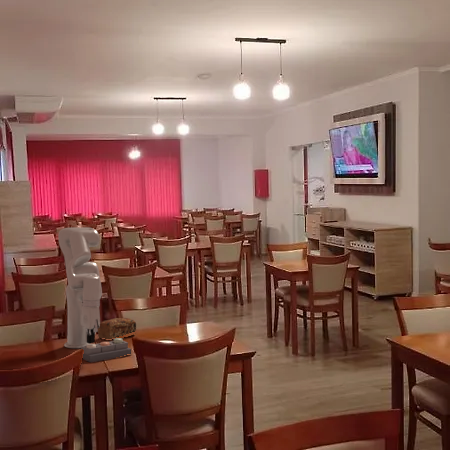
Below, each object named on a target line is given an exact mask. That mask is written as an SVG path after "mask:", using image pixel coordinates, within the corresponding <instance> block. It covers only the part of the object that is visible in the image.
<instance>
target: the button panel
mask: <svg viewBox="0 0 450 450" xmlns="http://www.w3.org/2000/svg"><path fill="white" fill-rule="evenodd" d="M108 342H109V343H110V345H107V346H101V345H100V343H101V342H100V343H95V344H96V347H95V348H87V345H86V346H81V348H80V350H81V349H83V350H84V354H83V359H82V360H84V361H86V362H88V363H96V362H102V361H107V360H111V359H117V358H116V357H119V358H121V357H120V356H124V355H127V354H131V355H132V348H130V347H129V342H127V341H125V340H123V343H119V344H115V343H114V340H112V341H108ZM124 357H125V356H124Z"/></svg>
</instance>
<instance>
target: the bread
mask: <svg viewBox="0 0 450 450" xmlns="http://www.w3.org/2000/svg"><path fill="white" fill-rule="evenodd" d="M135 331H137V323H136V321H135V320H134V319H131V318H128V317H115V318H110V319H108V320H103V321H100V327H99V328H98V332H97V337H99V338H98V339H100V338H105V339H112V338H116V337H119V336H123V335H126V334H129V333H132V332H135Z"/></svg>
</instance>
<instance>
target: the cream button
mask: <svg viewBox="0 0 450 450" xmlns="http://www.w3.org/2000/svg"><path fill="white" fill-rule="evenodd" d="M96 344H97V343H90V344H88V345H87V348H95V347H96Z"/></svg>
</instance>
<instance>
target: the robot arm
mask: <svg viewBox="0 0 450 450" xmlns="http://www.w3.org/2000/svg"><path fill="white" fill-rule="evenodd" d="M57 237H58V238H57V239H58V244H59V248H60V249H61V250H60V251H61V252H62V254H63V257H64V258H63V259H64V265H65V271H66V279H67V285H66V287H65V296H66V297H65V298H66V301H67V302H66V304H67V306H66V307H67V335H66V338H67V342H64V344H63V345H64V348H67V349H81V346H86V345H88V344H96V333H98V328H99V327H100V323H101V315H100V302H101V301H100V300H101V298H102V295H103V289H102V280H101V277H100V276H101V275H100V269H99V265H98V264H97V263H96V262H93V261H90V260H91V258H92V253H91V249H90V248H91V247H92V248H93V247H98V246H99V245H100V241H101V239H100V238H101V237H100V234H99V232H98V230H97V229H94V228H92V227H65V228H62V229H60V230H59V232H58V236H57Z"/></svg>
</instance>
